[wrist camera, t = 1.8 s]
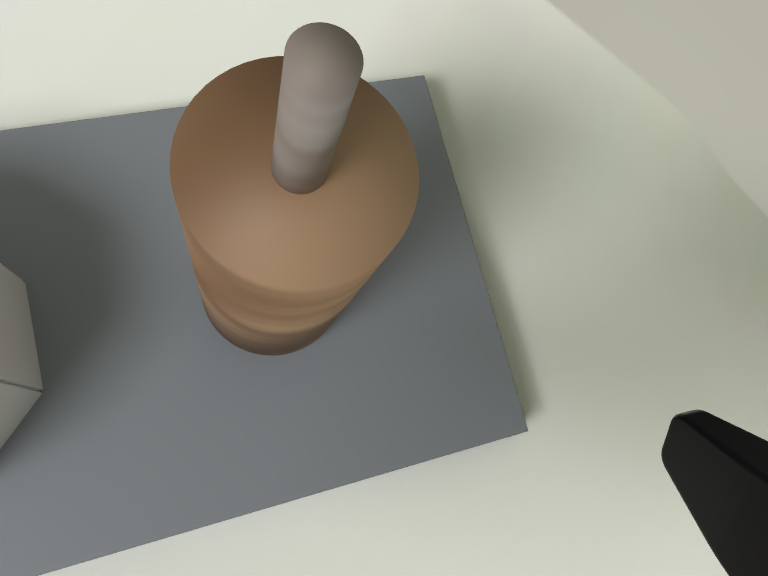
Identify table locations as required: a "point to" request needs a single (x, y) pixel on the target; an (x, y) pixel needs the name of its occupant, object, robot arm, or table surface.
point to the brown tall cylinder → (290, 189)
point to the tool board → (211, 352)
